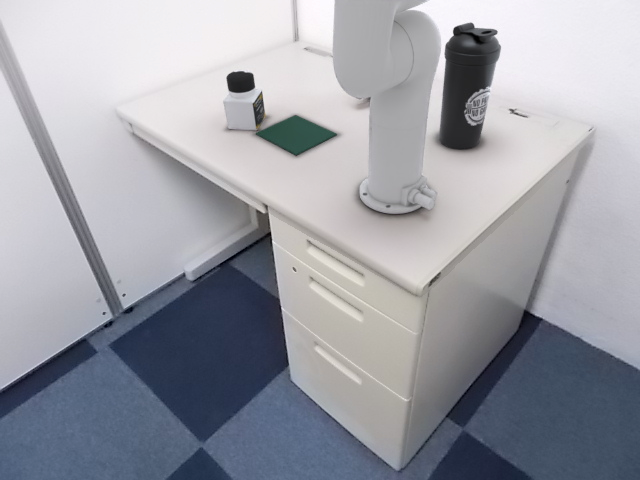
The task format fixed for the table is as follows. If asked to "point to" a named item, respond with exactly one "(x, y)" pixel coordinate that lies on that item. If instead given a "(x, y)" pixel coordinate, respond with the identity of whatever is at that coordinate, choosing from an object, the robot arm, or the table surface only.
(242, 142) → the table surface
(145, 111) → the table surface
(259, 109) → the medicine bottle
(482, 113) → the water bottle
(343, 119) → the table surface
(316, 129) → the cutting mat
